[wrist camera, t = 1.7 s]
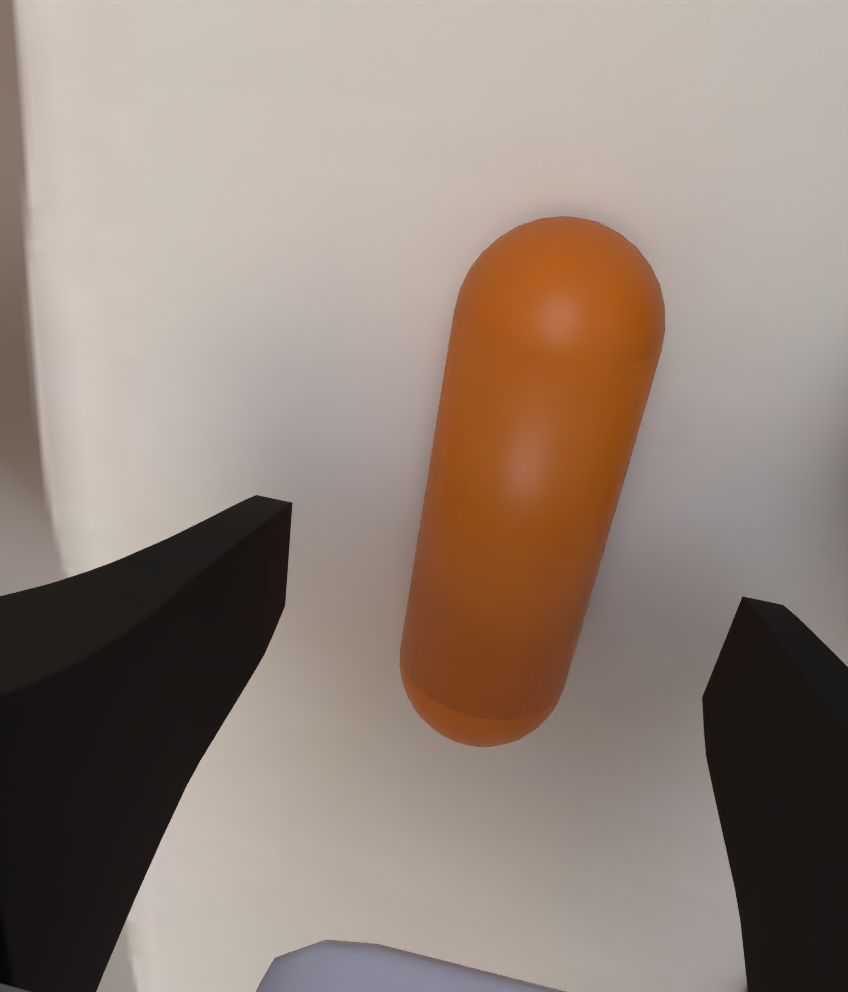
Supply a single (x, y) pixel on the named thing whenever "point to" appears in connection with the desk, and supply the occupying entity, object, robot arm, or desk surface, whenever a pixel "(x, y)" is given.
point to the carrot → (526, 472)
